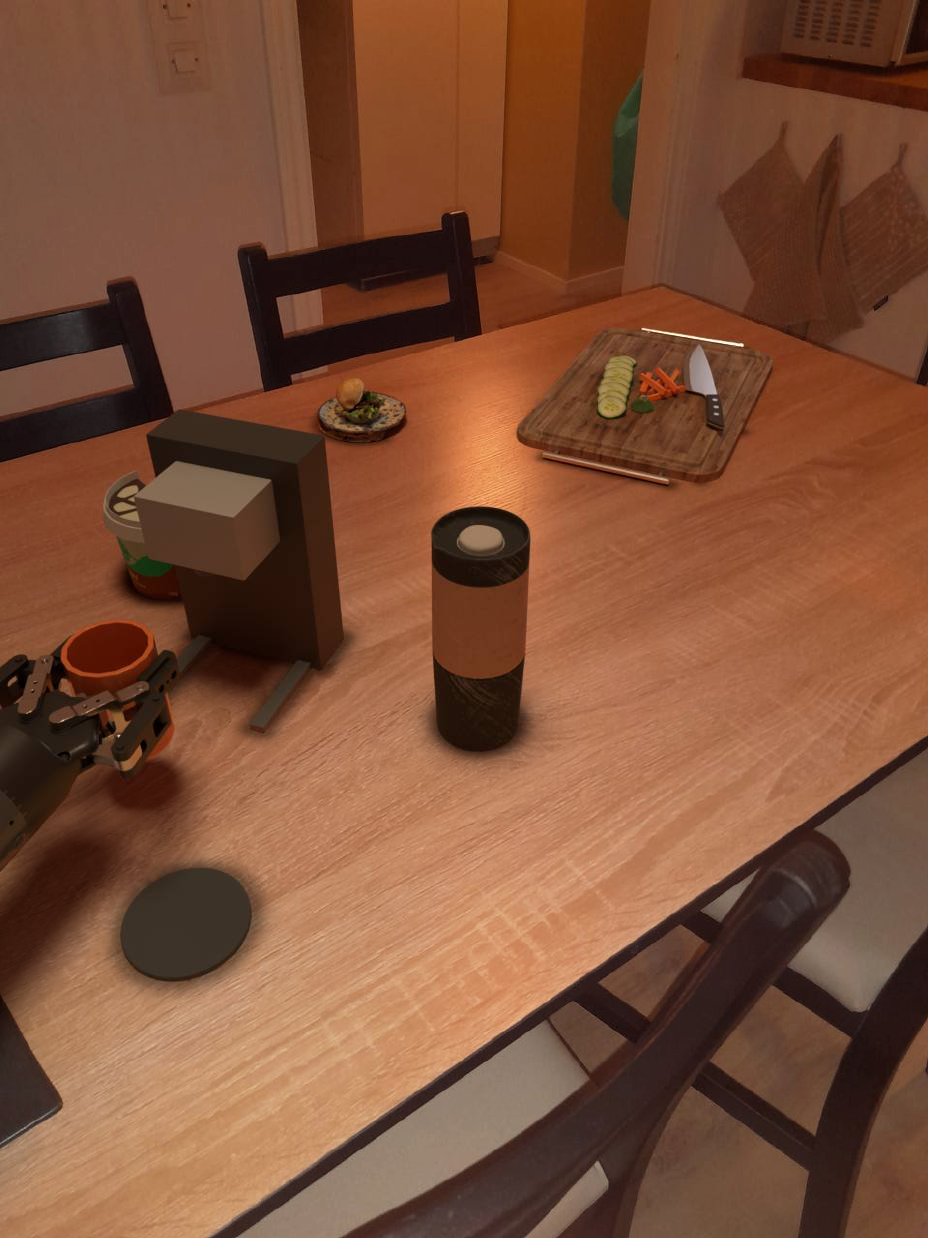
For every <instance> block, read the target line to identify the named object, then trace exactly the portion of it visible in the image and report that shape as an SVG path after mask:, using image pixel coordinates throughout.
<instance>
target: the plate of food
mask: <svg viewBox="0 0 928 1238" xmlns="http://www.w3.org/2000/svg"><path fill="white" fill-rule="evenodd" d="M337 374H338V375H339V378H340V379H341V380H342V382H341V383H339V384H338V386H337V388H336V392H335V397H332V398H329V399H328V400H326V401H324V402H323V403H321V405H320V407H319V408H318V411H317V414H316V415H317V426H318V428H319V430H320V431H321V432H322V433H323V434H324V435H326V436H328V437H330V438H332V439H336V440H339V441H343V442H350V443H370V442H372V441H375V442H377V441H381V440H383V438H384V436H385V433H386V431H388V430H390V429H392V428H394V427H397V426H398V425H399V424H400V422H401V421H402V420H403V419H404V418H405V416H406V414H407V408H406V405H405V403H403V401H400V400H399V399H397V398H396V397H394V396H391V395H388V394H386V393H382V392H379V391H378V392H377V391H373V390H372V391H371V390H370V389H365V386H364V382H363V380H362V379H360V378H355V377H354V378H348V379H345V380H343V378H342V377H341V375H340V373H339V371H337Z"/></svg>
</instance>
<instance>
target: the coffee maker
mask: <svg viewBox="0 0 928 1238" xmlns="http://www.w3.org/2000/svg"><path fill="white" fill-rule="evenodd" d="M145 437H146V442H147V446H148V451H149V455H150V460H151V464H152V468H153V473H154V477H155V478H154V479H153V480H151V481H150V482H149V483H148V484H146V486H145V487H144V488H143V489H142V490H141V491H139V492H138V493H137V494H136V495H135V496H134V500H135V504H136V508H137V512H138V516H139V521H140V525H141V529H142V533H143V537H144V541H145V545H146V549H147V554H148V558H149V559H153V560H157V561H161V562H166V563H170V564H174V565H175V568H176V572H177V577H178V581H179V586H180V590H181V594H182V599H181V600H182V603H183V607H184V612H185V615H186V622H187V625H188V631H189V635H190V638H191V639H193V641H192V642H191V643H190V644H189V645H188V646H187V648H185V650H184V651H183V652H182V653H181V654H180V655H179V656H178V657H177V658H176V659H177V664H178V669H179V673H180V675H179V678H178V680H177V681H176V682H175V683H174V685H173V686H172V687H170V689H169V690H168V691H167V694H168V695H169V693H170V692H171V691H172V690H173V689H174V688H175V687H176V685H178V683H179V682H180V681H181V680H182V679H183V677H185V675H186V674H187V673H188V672H189V671H190V670H191V668H192V667H193V666H194V665H195V664H196V663H197V662H198V661H199V659H200V658H201V657H202V656H203V655H204V654H205V653H206V652H207V650H208V649H209V648H210V647H211V646H212V644H214V645H217V646H221V647H225V648H229V649H233V650H237V651H241V652H245V653H249V654H253V655H256V656H261V657H265V658H269V659H273V660H277V661H281V662H285V663H289V664H293V665H292V666H291V668H290V669H289V671H288V672H287V673H286V675H285V676H284V677H283V679H282V680H281V681H280V683H278V685H277V686H276V688H275V689H274V690H273V692H272V693H271V694H270V696H269V697H268V699H266V701H265V703H264V704H263V705H262V706H261V708H260V709H259V710H258V712H257V713H256V714H255V715H254V717H253V718H252V719H251V721H250V722H249V730H251V731H255V732H258V733H262V734H265V733H266V732H267V730H268V729H269V728H270V726H271V725H272V724H273V722H274V721H275V719H276V718H277V717H278V715H279V714H280V713H281V712H282V710H283V708H284V707H285V705H286V704H287V703H288V701H289V700H290V699H291V697H292V696H293V695H294V693H295V692H296V690H298V688H299V686H300V685H301V684H302V683H303V681H304V679H305V678H306V677H307V676H308V674H309V672H310V671H311V670H312V669H313V670H317V671H320V672H321V671H322V670H323V669H324V668H325V667H326V665H327V664H328V662H329V661H330V660H331V658H332V657H333V656H334V654H335V652H336V651H337V650H338V648H339V647H340V646H341V644H342V642H343V641H344V640H345V636H344V625H343V624H344V623H343V615H342V601H341V592H340V583H339V573H338V572H339V571H338V561H337V552H336V551H337V550H336V540H335V539H336V538H335V531H334V530H335V529H334V520H333V509H332V498H331V488H330V477H329V476H330V475H329V465H328V457H327V456H328V455H327V446H326V445H327V444H326V437H325V434H319V433H313V432H307V431H302V430H296V429H291V428H285V427H280V426H274V425H268V424H264V423H257V422H253V421H252V422H251V421H246V420H241V419H235V418H230V417H225V416H220V415H213V414H209V413H202V412H197V411H191V410H185V409H181V408H178V409H177V410H176V411H175V412H173V413H172V414H171V415H169V416H168V417H166V418H165V419H164V420H163V421H161V422H160V423H159V424H158V425H156V426H155V427H153V428H152V429H150V431H149V432H147V433H146V434H145Z"/></svg>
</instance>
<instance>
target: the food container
mask: <svg viewBox="0 0 928 1238" xmlns="http://www.w3.org/2000/svg"><path fill="white" fill-rule="evenodd" d="M145 486H147V484H146V483H144V482H143V481H141V480H140V476H139V472H138V470H137V469H135V470H133V471H132V472H129V473H127V474H124V475H123V476H121V477H120V478H118V479H117V480H116V481H114V482H113V483H112V484H111V485H110V487H108V489H107V491H106V492H105V496H104V499H103V502H102V503H103V504H102V514H103V515H102V518H103V524H104V526H105V528H106V529H107V531H109V532H110V533H111V534H112V535H114V536H116V540H117V543H118V546H119V548H120V551H121V554H122V557H123V559H124V562H125V564H126V567H127V571H128V573H129V577H130V579H131V581H132V584H133V587H134V589H135V590H136V591H137V592H138V593H140V594H141V595H142V596H145V597H146V598H150V599H152V600H159V601H176V600H183V599H182V594H181V590H180V586H179V581H178V577H177V572H176V568H175V565H174V564H170V563H166V562H161V561H157V560H153V559H149V558H148V554H147V549H146V545H145V541H144V537H143V533H142V529H141V525H140V521H139V516H138V512H137V508H136V504H135V500H134V496H135V495H136V494H137V493H138V492H139V491H141V490H142V489H143V488H144V487H145Z"/></svg>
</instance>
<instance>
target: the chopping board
mask: <svg viewBox="0 0 928 1238" xmlns="http://www.w3.org/2000/svg"><path fill="white" fill-rule="evenodd" d="M773 364H774V359H773V358H772V357H771V356H770V355H769V354H767V353H765V352H762V351H759V350H755V349H749V348H745V344H744V343H739V342H733V341H726V340H720V339H716V338H715V339H714V338H708V337H703V336H697V335H692V334H691V335H690V334H686V333H685V334H684V333H679V332H672V331H667V330H662V329H661V330H660V329H655V328H649V327H641V329H640V330H636V329H630V328H626V327H625V328H623V327H608V328H605V329H602V330H600V331H599V332H598V333H596V334H595V336H594V337H593V338H592V339H591V341H589V342H588V344H587V345H586V346H585V347H584V348H583V349H582V351H581V352H580V353H579V354H578V355H577V357H575V359H574V360H573V361H572V362H571V363H570V364H569V365H568V367H567V368H566V369H565V371H563V372H562V374H561V375H560V376H559V377H558V378H557V380H555V382H554V383H553V384H552V385H551V386H550V387H549V389H547V391H546V392H545V393H544V394H543V395H542V397H541V398H540V399H539V400H538V401H537V402H536V403H535V404H534V406H533V407H532V408H531V409H529V411H528V412H527V414H526V415H525V416H524V417H523V418H522V419H521V420H520V422H518V424H517V427H516V438H517V440H518V442H519V443H520V444H522V445H523V446H526V447H529V448H532V449H535V450H540V451H543V452H542V458H543V459H548V460H553V461H557V462H560V463H566V464H570V465H576V466H581V467H585V468H588V469H593V470H599V471H603V472H608V473H612V474H617V475H621V476H624V477H625V476H626V477H630V478H635V479H639V480H644V481H649V482H652V483H658V484H662V485H667V486H668V485H669V484H670V480H671V479H674V480H679V481H685V482H688V483H697V484H702V483H710V482H713V481H715V480H718V479H719V478H720V477H721V476H722V475H723V473H724V470H725V469H726V466H727V464H728V463H729V460H730V458H731V456H732V454H733V452H734V449H736V448H735V447H736V446H737V443H738V442H739V439H740V437H741V435H742V433H743V431H744V428H745V427H746V425H747V422H748V421H749V418H750V416H751V414H752V412H753V411H754V408H755V405H756V404H757V401H758V400H759V397H760V395H761V393H762V391H763V389H764V387H765V385H766V384H767V381H768V379H769V377H770V374H771V372H772V371H773V370H772V369H773Z"/></svg>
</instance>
